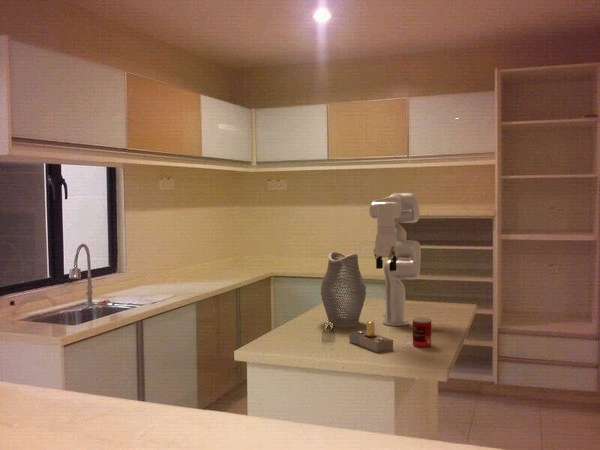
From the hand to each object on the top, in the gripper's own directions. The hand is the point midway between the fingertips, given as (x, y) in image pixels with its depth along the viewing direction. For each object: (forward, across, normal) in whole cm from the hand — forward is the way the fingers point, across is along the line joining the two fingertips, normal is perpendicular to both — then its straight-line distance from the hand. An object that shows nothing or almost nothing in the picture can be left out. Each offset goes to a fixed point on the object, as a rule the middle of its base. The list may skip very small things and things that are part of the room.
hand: (386, 269), depth 255 cm
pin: (+30, +8, -14) cm, 34 cm away
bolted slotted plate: (+30, +8, -14) cm, 34 cm away
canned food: (+31, +18, +5) cm, 36 cm away
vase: (+31, -35, 0) cm, 46 cm away
